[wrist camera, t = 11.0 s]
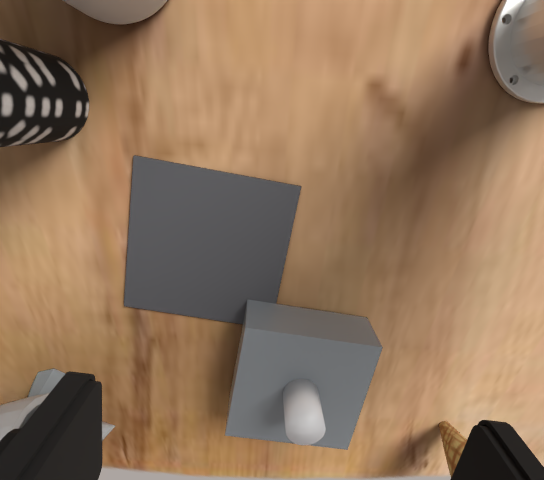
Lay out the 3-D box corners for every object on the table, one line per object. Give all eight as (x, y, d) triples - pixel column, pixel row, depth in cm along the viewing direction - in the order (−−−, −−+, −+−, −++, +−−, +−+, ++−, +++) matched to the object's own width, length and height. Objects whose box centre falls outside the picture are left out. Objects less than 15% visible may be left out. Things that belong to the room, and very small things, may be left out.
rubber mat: (300, 186, 39) (301, 186, 39) (270, 326, 45) (270, 328, 44) (134, 155, 38) (133, 155, 37) (125, 304, 43) (123, 305, 43)
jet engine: (147, 435, 50) (89, 591, 33) (-1, 419, 49) (-139, 574, 32) (152, 345, 45) (87, 475, 29) (-11, 325, 44) (-178, 449, 27)
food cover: (367, 317, 44) (399, 379, 34) (337, 410, 49) (357, 490, 39) (247, 299, 43) (243, 358, 33) (229, 397, 48) (220, 475, 37)
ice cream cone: (425, 404, 49) (491, 520, 35) (470, 403, 49) (554, 518, 35) (420, 442, 51) (480, 565, 37) (463, 440, 51) (539, 563, 37)
